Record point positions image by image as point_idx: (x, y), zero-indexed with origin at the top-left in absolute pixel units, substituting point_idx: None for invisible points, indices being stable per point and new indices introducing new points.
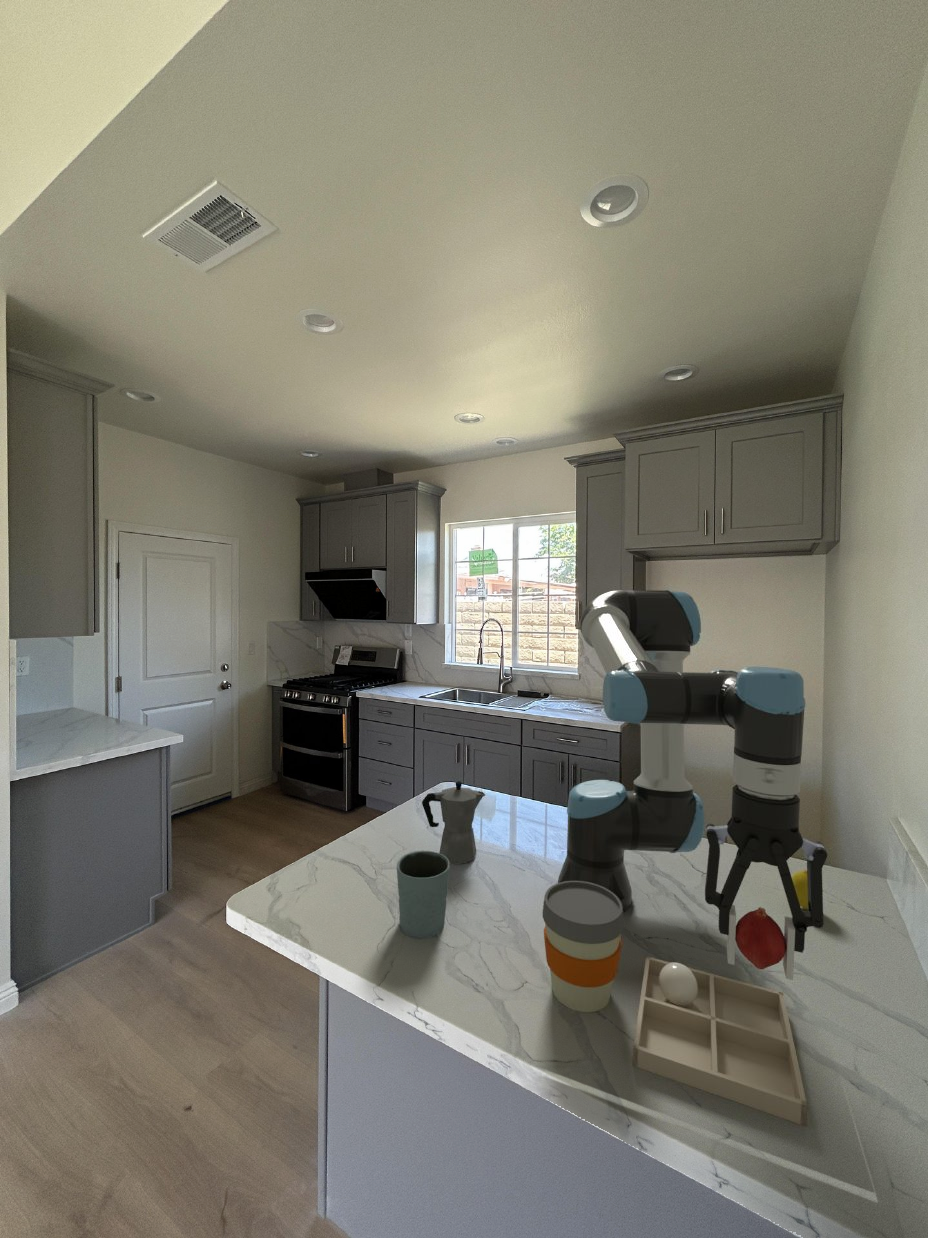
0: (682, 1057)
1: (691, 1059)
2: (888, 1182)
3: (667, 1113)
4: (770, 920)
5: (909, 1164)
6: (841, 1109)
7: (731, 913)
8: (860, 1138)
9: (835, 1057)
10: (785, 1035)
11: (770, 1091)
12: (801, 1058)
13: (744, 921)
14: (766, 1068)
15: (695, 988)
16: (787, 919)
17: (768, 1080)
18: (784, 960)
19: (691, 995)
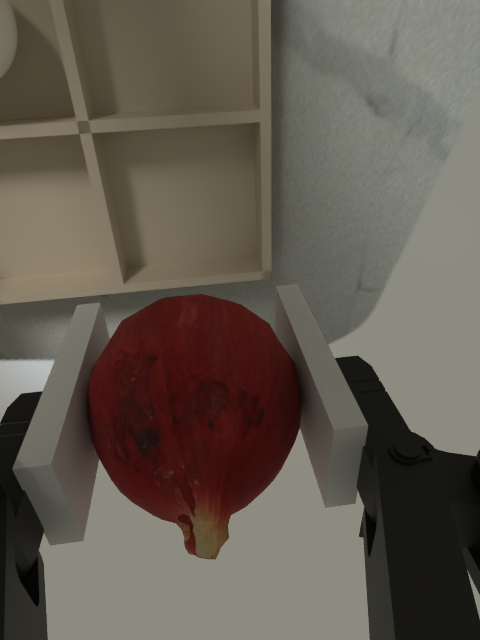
0: (51, 223)
1: (68, 219)
2: (356, 285)
3: (65, 332)
4: (250, 497)
5: (397, 242)
6: (329, 186)
7: (55, 535)
8: (342, 231)
9: (359, 29)
10: (256, 62)
11: (214, 280)
12: (283, 77)
13: (126, 496)
14: (209, 167)
15: (5, 45)
16: (340, 450)
17: (212, 196)
18: (282, 331)
19: (5, 69)
